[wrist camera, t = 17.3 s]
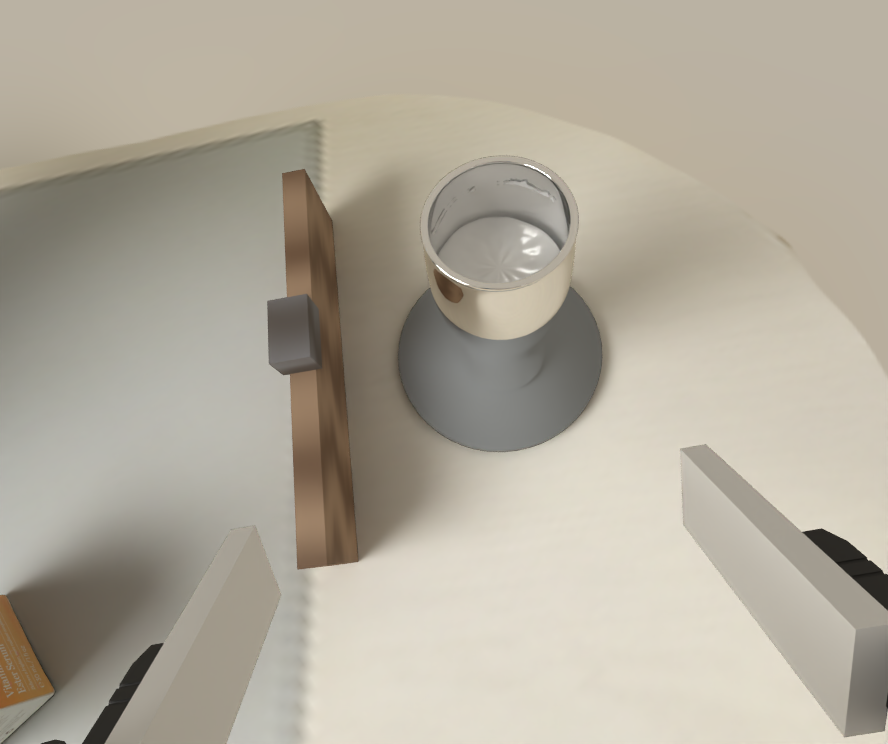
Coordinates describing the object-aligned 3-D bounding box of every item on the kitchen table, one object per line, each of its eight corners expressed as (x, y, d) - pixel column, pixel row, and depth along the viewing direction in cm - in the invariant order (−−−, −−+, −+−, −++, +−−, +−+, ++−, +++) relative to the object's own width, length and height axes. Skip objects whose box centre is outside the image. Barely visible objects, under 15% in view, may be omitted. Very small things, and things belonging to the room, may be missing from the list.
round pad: (362, 342, 37) (360, 339, 37) (509, 231, 39) (509, 227, 38) (484, 496, 33) (483, 495, 32) (644, 363, 34) (647, 360, 34)
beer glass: (502, 419, 33) (501, 328, 19) (430, 352, 36) (381, 225, 22) (573, 348, 34) (620, 211, 20) (499, 286, 37) (495, 124, 23)
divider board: (364, 560, 32) (321, 565, 25) (327, 566, 32) (273, 572, 25) (337, 220, 41) (299, 146, 33) (308, 225, 41) (263, 153, 34)
